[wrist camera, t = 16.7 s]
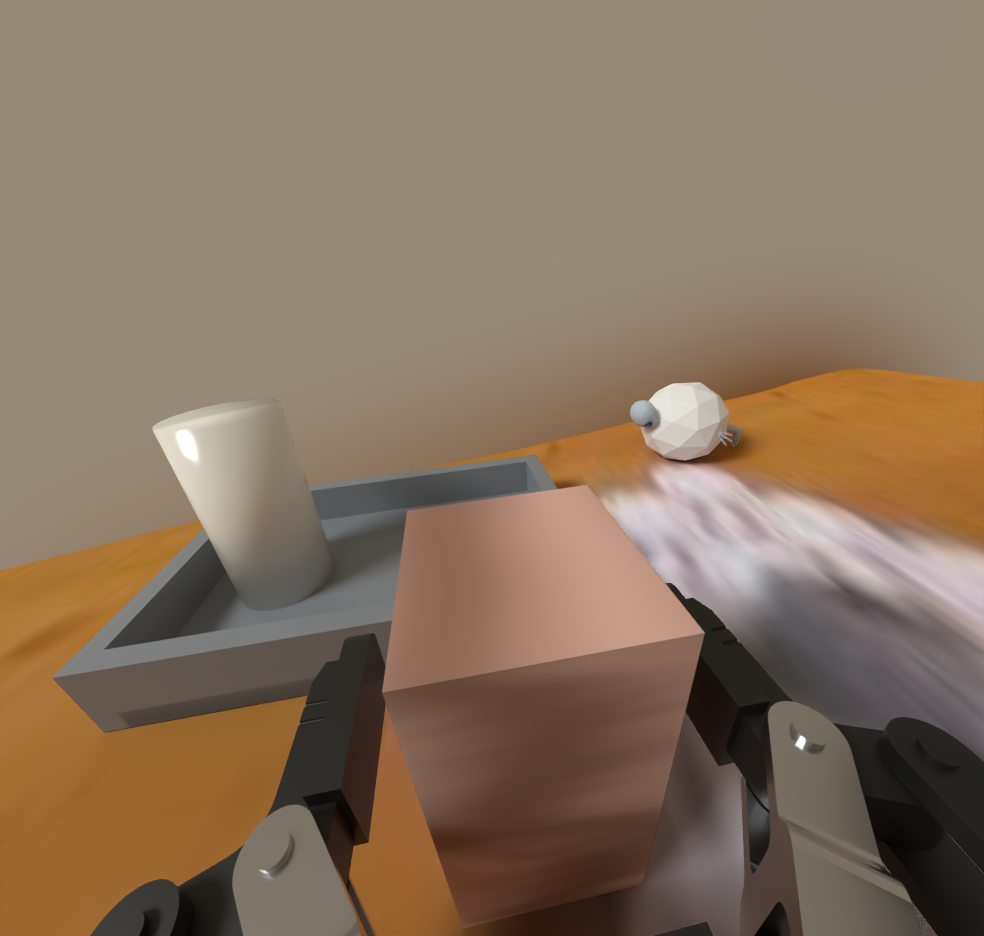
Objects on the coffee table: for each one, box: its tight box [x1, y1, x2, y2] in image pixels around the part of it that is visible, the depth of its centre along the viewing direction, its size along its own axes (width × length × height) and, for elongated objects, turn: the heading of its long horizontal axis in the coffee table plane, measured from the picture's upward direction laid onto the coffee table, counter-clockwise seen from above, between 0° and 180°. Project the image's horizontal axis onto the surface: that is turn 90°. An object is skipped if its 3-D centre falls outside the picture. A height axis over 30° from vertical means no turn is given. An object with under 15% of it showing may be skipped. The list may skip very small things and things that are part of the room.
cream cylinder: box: [152, 399, 335, 611], centre depth 19 cm, size 5×5×10 cm
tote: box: [53, 455, 557, 732], centre depth 22 cm, size 22×14×4 cm, turn 98°
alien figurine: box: [630, 382, 742, 460], centre depth 32 cm, size 7×7×12 cm
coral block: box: [382, 485, 705, 929], centre depth 10 cm, size 5×5×10 cm
